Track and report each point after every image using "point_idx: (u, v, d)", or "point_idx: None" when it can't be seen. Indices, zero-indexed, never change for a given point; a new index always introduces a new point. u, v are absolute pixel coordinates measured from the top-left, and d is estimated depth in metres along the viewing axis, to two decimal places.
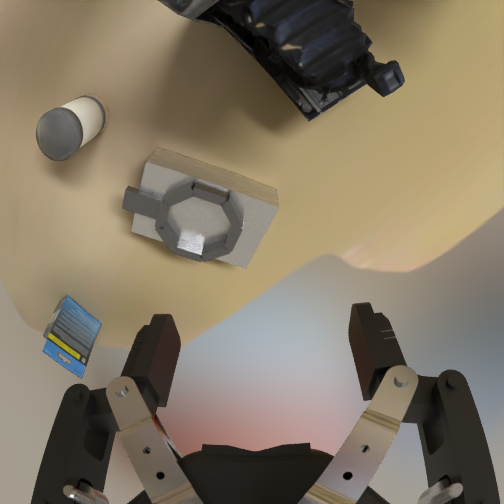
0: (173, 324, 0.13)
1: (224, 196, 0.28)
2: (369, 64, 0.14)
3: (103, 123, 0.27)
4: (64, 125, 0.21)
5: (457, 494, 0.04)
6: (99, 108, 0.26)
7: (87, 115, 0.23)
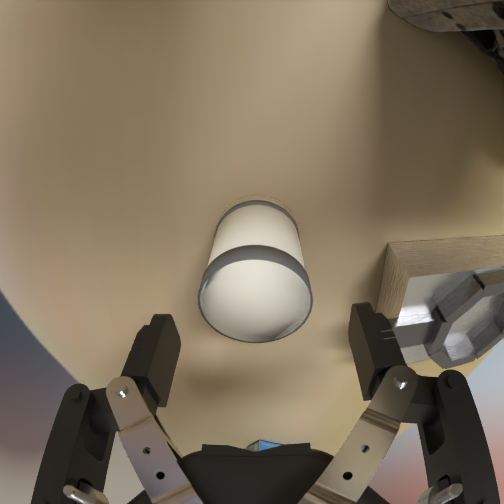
0: (173, 324, 0.13)
1: None
2: None
3: None
4: (271, 283, 0.13)
5: (457, 494, 0.04)
6: (286, 216, 0.17)
7: (291, 241, 0.15)
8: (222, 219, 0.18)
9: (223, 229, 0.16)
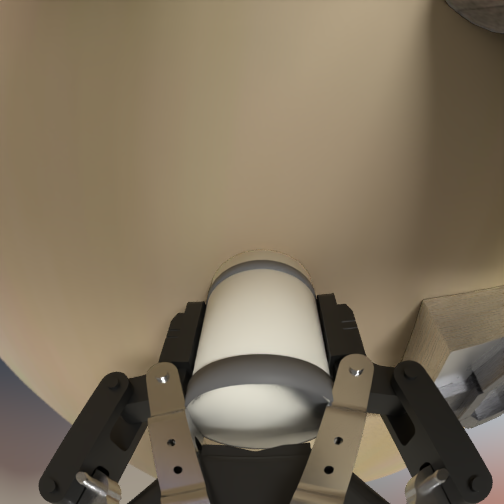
0: None
1: None
2: None
3: None
4: (284, 404, 0.08)
5: (444, 479, 0.05)
6: (301, 283, 0.12)
7: (310, 331, 0.10)
8: (215, 286, 0.13)
9: (215, 308, 0.11)
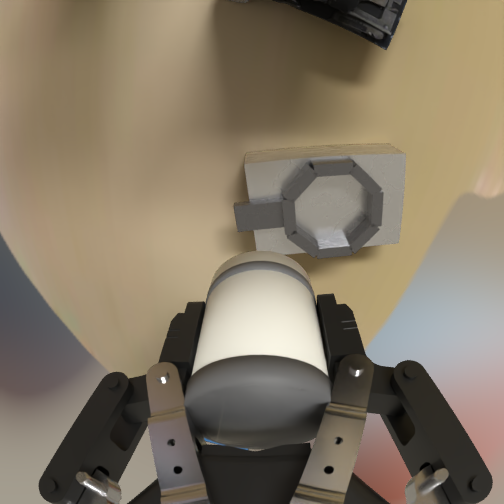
0: None
1: (349, 162, 0.22)
2: None
3: None
4: (283, 404, 0.08)
5: (444, 479, 0.05)
6: (300, 283, 0.13)
7: (309, 332, 0.10)
8: (214, 286, 0.13)
9: (214, 308, 0.11)
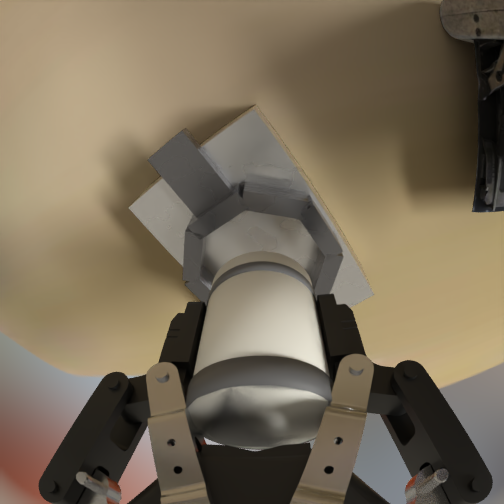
0: None
1: (340, 246, 0.16)
2: None
3: None
4: (284, 405, 0.08)
5: (444, 479, 0.05)
6: (301, 284, 0.13)
7: (310, 332, 0.10)
8: (215, 287, 0.13)
9: (216, 309, 0.11)
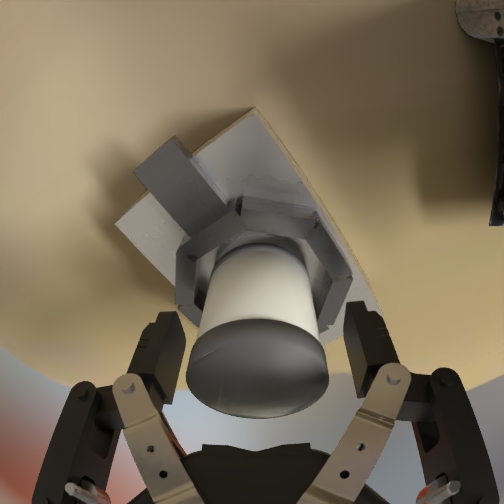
0: (178, 321, 0.13)
1: (350, 268, 0.14)
2: None
3: None
4: (278, 366, 0.10)
5: (455, 491, 0.04)
6: (295, 263, 0.14)
7: (303, 303, 0.12)
8: (217, 266, 0.14)
9: (217, 284, 0.13)
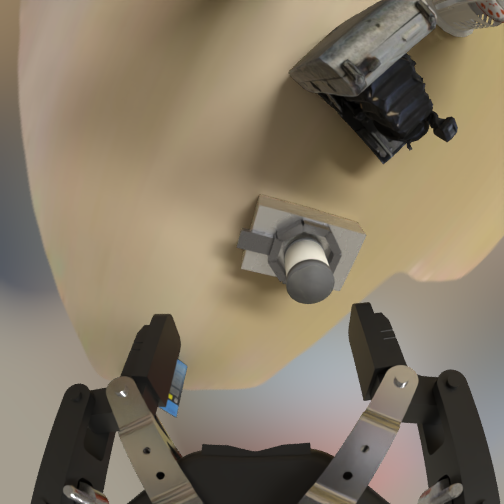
0: (173, 324, 0.13)
1: (327, 229, 0.35)
2: (436, 121, 0.21)
3: (320, 244, 0.36)
4: (309, 273, 0.31)
5: (457, 494, 0.04)
6: (307, 240, 0.35)
7: (310, 252, 0.33)
8: (284, 258, 0.37)
9: (285, 263, 0.35)
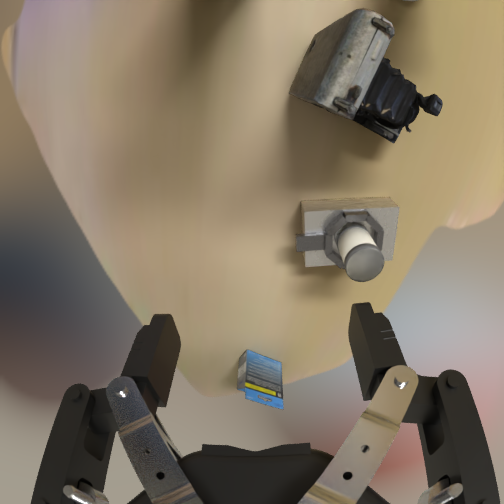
0: (173, 324, 0.13)
1: (366, 213, 0.39)
2: (422, 101, 0.24)
3: (363, 228, 0.40)
4: (361, 256, 0.36)
5: (457, 494, 0.04)
6: (352, 228, 0.40)
7: (357, 238, 0.37)
8: (338, 248, 0.42)
9: (340, 253, 0.40)
